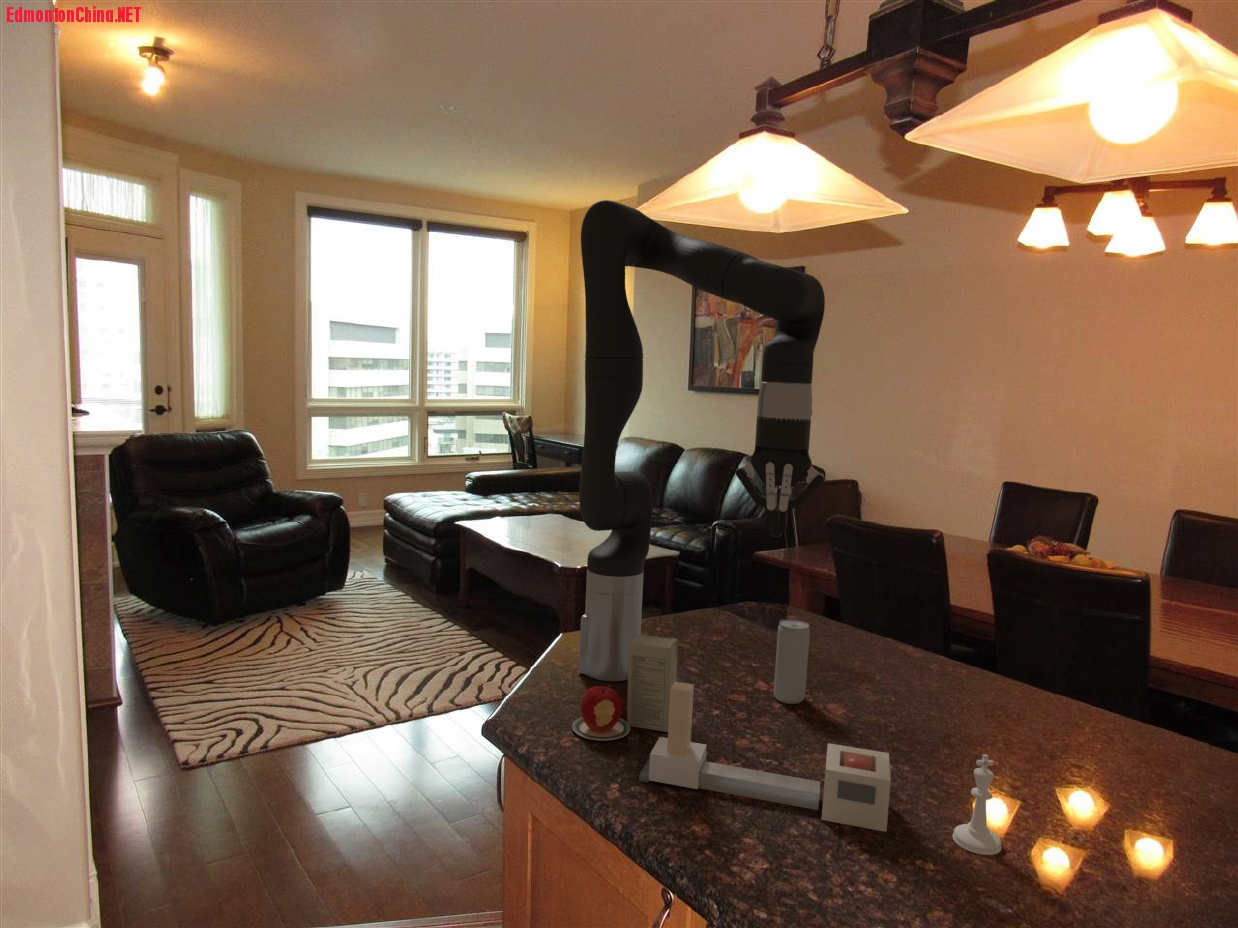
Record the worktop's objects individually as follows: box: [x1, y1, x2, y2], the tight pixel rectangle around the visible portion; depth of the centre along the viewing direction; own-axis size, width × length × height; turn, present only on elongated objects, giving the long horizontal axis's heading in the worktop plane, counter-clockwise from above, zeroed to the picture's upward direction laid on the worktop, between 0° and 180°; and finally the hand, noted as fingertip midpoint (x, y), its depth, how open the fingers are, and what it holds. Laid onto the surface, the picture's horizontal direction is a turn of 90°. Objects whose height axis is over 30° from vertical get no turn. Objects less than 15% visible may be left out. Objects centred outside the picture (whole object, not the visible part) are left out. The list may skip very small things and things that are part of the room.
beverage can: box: [773, 619, 811, 705], centre depth 127 cm, size 5×5×12 cm
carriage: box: [649, 681, 707, 790], centre depth 101 cm, size 6×5×11 cm
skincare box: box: [626, 634, 679, 733], centre depth 116 cm, size 6×4×12 cm
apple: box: [571, 684, 631, 742], centre depth 114 cm, size 8×8×6 cm
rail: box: [638, 756, 821, 811], centre depth 100 cm, size 21×5×2 cm, turn 74°
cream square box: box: [821, 742, 892, 833], centre depth 95 cm, size 7×7×6 cm
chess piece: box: [952, 753, 1003, 856], centre depth 90 cm, size 5×5×10 cm
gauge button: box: [844, 754, 872, 771], centre depth 95 cm, size 3×3×5 cm
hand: (775, 535), depth 118 cm, fingers closed
